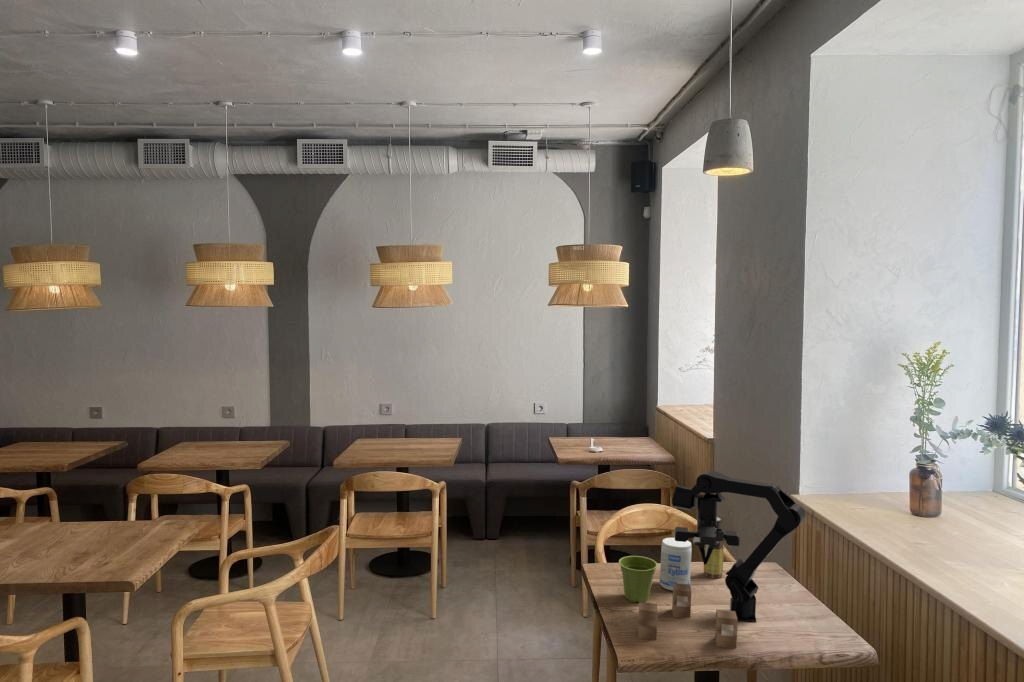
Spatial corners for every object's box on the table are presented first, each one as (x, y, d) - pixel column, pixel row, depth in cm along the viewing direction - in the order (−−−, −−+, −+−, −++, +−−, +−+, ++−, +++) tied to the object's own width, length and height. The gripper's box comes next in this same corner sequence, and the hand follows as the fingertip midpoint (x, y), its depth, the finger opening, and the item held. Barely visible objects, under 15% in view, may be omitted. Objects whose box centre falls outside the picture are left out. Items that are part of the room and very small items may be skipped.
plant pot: (612, 601, 222) (613, 565, 222) (624, 587, 233) (626, 553, 232) (649, 609, 217) (651, 572, 216) (661, 595, 227) (662, 560, 227)
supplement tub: (668, 593, 229) (669, 548, 228) (654, 582, 238) (656, 538, 237) (695, 590, 231) (697, 545, 230) (681, 579, 240) (682, 536, 239)
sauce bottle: (708, 570, 249) (710, 513, 247) (725, 575, 245) (728, 517, 243) (699, 576, 243) (702, 518, 242) (717, 581, 240) (720, 522, 238)
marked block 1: (689, 610, 217) (690, 584, 216) (690, 618, 212) (691, 591, 211) (672, 609, 218) (673, 583, 217) (672, 616, 212) (673, 590, 212)
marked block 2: (733, 639, 199) (735, 611, 199) (736, 648, 194) (737, 619, 193) (715, 637, 200) (716, 609, 199) (717, 646, 195) (718, 617, 194)
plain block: (656, 631, 203) (657, 603, 202) (656, 640, 198) (657, 611, 197) (638, 629, 204) (639, 602, 203) (637, 638, 199) (638, 609, 198)
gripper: (676, 519, 212) (674, 571, 213) (742, 524, 209) (740, 576, 210) (675, 508, 223) (673, 557, 224) (738, 512, 220) (735, 562, 221)
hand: (705, 563), depth 219 cm, fingers closed
